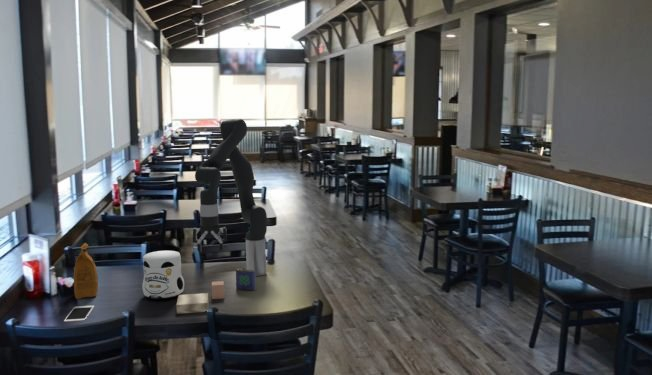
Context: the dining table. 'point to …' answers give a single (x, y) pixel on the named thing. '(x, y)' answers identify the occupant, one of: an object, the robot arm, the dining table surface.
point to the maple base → (192, 303)
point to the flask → (245, 279)
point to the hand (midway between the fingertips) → (210, 251)
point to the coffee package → (85, 275)
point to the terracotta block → (218, 290)
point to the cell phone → (79, 313)
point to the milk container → (162, 275)
